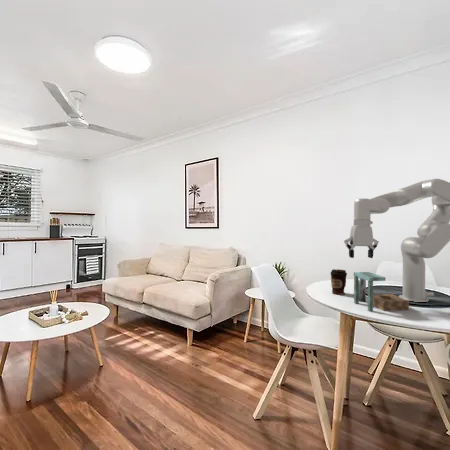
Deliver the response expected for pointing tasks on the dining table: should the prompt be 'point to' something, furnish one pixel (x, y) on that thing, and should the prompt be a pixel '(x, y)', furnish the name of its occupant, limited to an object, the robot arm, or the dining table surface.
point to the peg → (362, 290)
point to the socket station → (378, 300)
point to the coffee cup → (338, 281)
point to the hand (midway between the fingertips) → (360, 257)
